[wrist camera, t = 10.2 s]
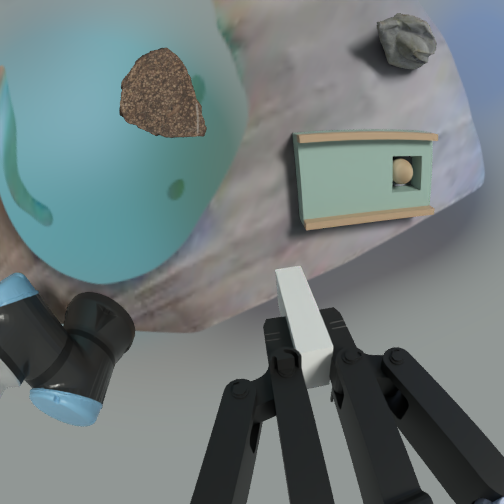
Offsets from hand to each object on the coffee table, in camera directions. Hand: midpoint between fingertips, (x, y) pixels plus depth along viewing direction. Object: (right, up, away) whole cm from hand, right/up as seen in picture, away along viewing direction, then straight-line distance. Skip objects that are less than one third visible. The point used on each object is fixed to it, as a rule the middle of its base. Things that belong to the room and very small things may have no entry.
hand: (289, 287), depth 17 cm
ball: (+20, +14, +21) cm, 32 cm away
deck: (+15, +14, +23) cm, 31 cm away
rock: (-14, +23, +17) cm, 31 cm away
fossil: (+19, +34, +13) cm, 41 cm away
